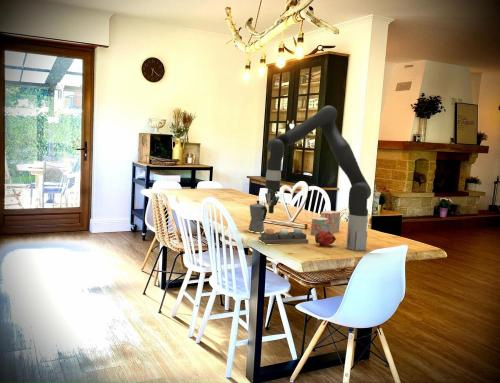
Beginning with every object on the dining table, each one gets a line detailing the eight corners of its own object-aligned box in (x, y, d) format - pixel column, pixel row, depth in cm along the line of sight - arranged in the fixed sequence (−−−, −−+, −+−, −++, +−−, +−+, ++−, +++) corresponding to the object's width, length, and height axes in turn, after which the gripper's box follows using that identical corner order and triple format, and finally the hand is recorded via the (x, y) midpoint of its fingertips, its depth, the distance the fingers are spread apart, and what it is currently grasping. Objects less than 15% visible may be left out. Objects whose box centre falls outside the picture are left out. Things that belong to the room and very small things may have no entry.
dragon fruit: (311, 248, 235) (332, 251, 239) (319, 241, 228) (340, 245, 232) (310, 233, 240) (331, 236, 243) (317, 226, 233) (339, 230, 236)
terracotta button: (275, 236, 235) (275, 230, 234) (267, 236, 233) (267, 230, 233) (271, 234, 239) (272, 228, 238) (263, 234, 237) (264, 228, 237)
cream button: (289, 236, 238) (289, 230, 237) (281, 236, 236) (282, 230, 236) (285, 234, 242) (286, 228, 241) (278, 234, 240) (278, 228, 240)
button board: (308, 243, 239) (308, 235, 239) (266, 244, 230) (266, 236, 230) (299, 239, 248) (299, 231, 248) (258, 240, 240) (258, 231, 239)
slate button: (303, 235, 241) (303, 229, 240) (295, 235, 239) (296, 230, 239) (299, 233, 245) (299, 228, 244) (291, 234, 243) (292, 228, 243)
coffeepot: (243, 230, 265) (244, 198, 263) (256, 229, 270) (258, 198, 268) (258, 235, 252) (260, 202, 250) (272, 234, 257) (274, 202, 255)
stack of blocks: (320, 236, 260) (321, 214, 259) (310, 234, 264) (312, 213, 263) (339, 232, 277) (340, 211, 275) (329, 230, 281) (331, 210, 279)
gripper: (285, 180, 228) (283, 215, 230) (274, 178, 240) (272, 211, 242) (271, 180, 226) (269, 215, 227) (261, 177, 238) (259, 210, 240)
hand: (270, 213), depth 235 cm, fingers closed
